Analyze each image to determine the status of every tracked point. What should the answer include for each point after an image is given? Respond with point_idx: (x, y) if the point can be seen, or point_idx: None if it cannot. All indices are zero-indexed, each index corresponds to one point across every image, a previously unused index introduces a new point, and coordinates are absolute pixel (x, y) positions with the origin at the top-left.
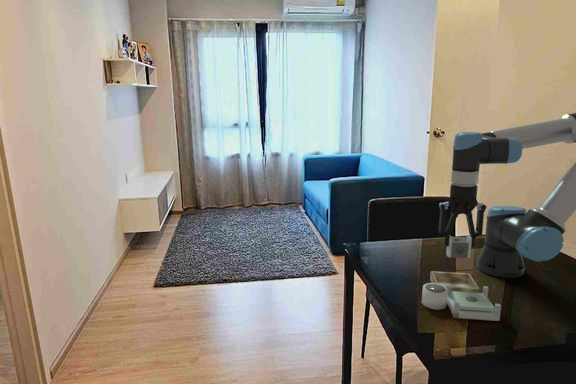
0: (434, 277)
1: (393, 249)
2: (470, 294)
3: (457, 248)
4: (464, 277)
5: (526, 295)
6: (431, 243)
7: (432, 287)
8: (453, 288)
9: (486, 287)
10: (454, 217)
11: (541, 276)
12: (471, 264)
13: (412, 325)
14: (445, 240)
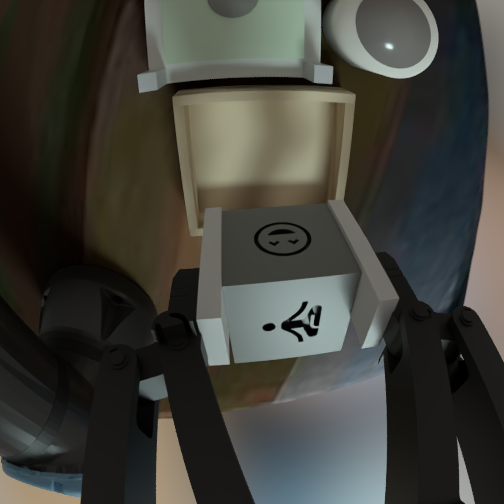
0: (342, 177)
1: (359, 357)
2: (225, 39)
3: (302, 245)
4: None
5: (31, 164)
6: (256, 393)
7: (405, 35)
8: (287, 90)
9: (145, 79)
10: (442, 498)
11: (16, 285)
12: None
13: None
14: (407, 283)
